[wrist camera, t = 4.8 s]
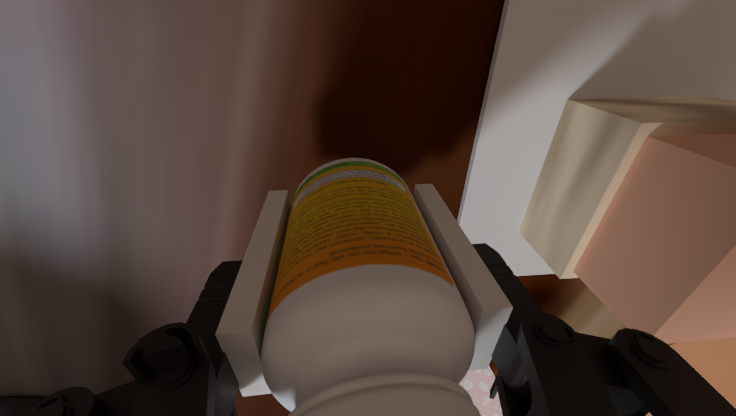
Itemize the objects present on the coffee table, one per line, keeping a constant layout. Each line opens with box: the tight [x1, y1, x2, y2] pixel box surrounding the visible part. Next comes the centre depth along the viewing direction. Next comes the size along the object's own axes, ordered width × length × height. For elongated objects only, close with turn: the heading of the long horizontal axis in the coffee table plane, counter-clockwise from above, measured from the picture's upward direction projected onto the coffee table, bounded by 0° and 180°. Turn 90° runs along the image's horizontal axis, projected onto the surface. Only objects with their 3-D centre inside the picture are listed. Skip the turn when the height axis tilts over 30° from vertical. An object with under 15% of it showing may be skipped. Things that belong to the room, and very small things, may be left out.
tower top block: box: [573, 134, 736, 344], centre depth 11 cm, size 7×7×4 cm
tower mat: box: [457, 0, 736, 276], centre depth 16 cm, size 16×16×1 cm
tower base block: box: [519, 98, 736, 279], centre depth 15 cm, size 8×8×4 cm
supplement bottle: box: [261, 158, 481, 416], centre depth 9 cm, size 5×5×10 cm
